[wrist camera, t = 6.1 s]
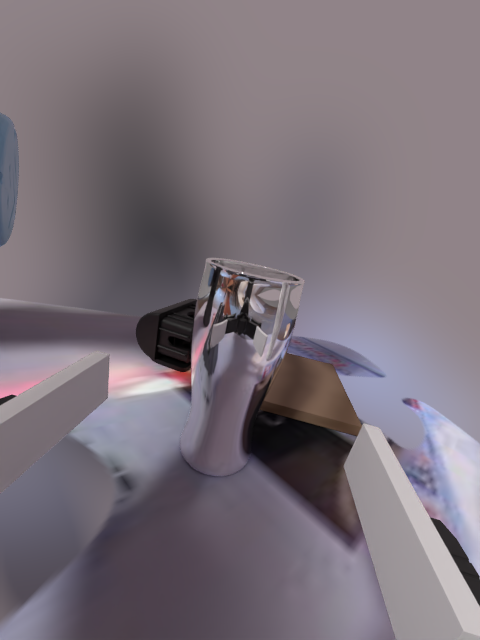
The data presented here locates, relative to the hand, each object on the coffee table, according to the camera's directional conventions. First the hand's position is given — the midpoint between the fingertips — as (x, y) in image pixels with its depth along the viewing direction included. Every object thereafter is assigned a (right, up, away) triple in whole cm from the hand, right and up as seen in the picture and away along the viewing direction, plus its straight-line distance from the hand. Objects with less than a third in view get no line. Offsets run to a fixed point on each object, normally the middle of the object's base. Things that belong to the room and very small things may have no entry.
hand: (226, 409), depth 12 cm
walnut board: (+7, -4, +20) cm, 22 cm away
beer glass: (-1, -6, +8) cm, 10 cm away
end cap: (-8, 0, +22) cm, 24 cm away
